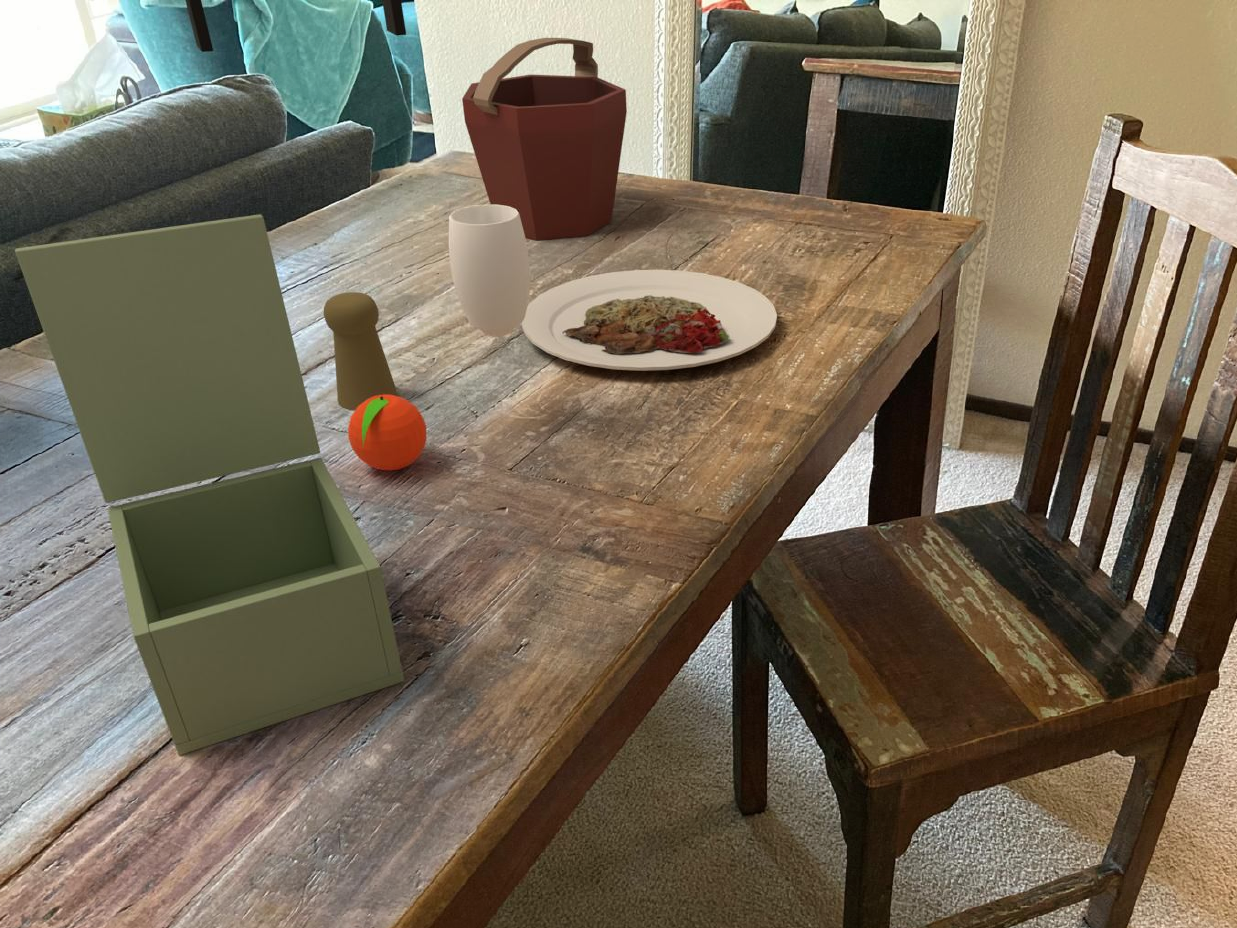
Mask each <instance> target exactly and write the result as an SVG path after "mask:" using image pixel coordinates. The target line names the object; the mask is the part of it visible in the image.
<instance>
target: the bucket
mask: <svg viewBox="0 0 1237 928" xmlns="http://www.w3.org/2000/svg"><path fill="white" fill-rule="evenodd" d="M554 45H572V50H573V53H572V61H574V63H575V64H574V75H557V74H556V75H553V74H525V75H519V76H518V75H517V76H511V77H506V76H508V75H509V74H510V73H511V72H512V71H513V70H514V69H515V68H516V66H518V65H519V64H521V62H522V61H524V59H526V58H527V57H528V56H529V55H530V54H532V53H533V52H535V51H537V50H539V49H543V48H545V47H549V46H554ZM593 54H594V43H593V42H590V41H585V40H581V39H574V38H567V37H541V38H536V39H529V40H527V41H524V42H521V43H518V44H516V45H514V46H513V47H512V48H511V49H509V50H508V51H507V52H506V53H504V54H503V55H502V56H501V57H500V58H499V59H498V60H497V61H496V62H495V63H494V64H493V65H492V66H491V67H490V68H489V69H488V70H486V71H485V72H484V73H483V74H482V76H481V78H480V80H479V82H473V83H472V82H471V84H470V85H469V87H468V88H467V90H466V92H465V93H464V94H463V97H462V98H461V100H462V109H463V118H464V123H465V126H466V130H467V133H468V136H469V140H470V143H471V146H472V149H473V153H474V155H475V159H476V163H477V165H478V169H479V172H480V175H481V178H482V181H483V185H484V188H485V191H486V194H487V198H488V201H489V205H503V206H509V207H512V208H514V209H516V210H517V211H518V213H519V215H520V219H521V223H522V227H523V231H524V234H525V238H526V239H530V240H533V241H545V240H547V241H548V240H557V239H567V238H569V239H570V238H580V237H581V238H582V237H589V236H591V235H592V234H593V233H595V232H597V231H598V230H600V229H601V228H604V227H605V226H607V225H608V224H610V223H611V222H612V221H613V213H614V206H615V198H616V191H617V185H618V178H619V172H620V171H619V170H620V162H621V157H622V156H621V155H622V149H623V142H624V136H625V135H624V134H625V128H626V121H627V113H628V108H627V106H628V105H627V90H626V89H625V88H623V87H621V86H619V85H616V84H614V83H611V82H609V81H607V80H605V79H602V78H600V77H599V64H598V63H597V62H596V59H594V57H593Z"/></svg>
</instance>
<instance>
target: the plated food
mask: <svg viewBox="0 0 1237 928" xmlns="http://www.w3.org/2000/svg"><path fill="white" fill-rule="evenodd" d="M777 320H778V313H777V311H776V308H775V305H774V304H773V303H772V302H771V301H770V300H769V298H768V297H767V296H765V295H764V294H763V293H761V292H760V291H758V290H757V289H755V288H753V287H750V286H748V285H746V284H744V283H741V282H739V281H736V280H733V279H729V278H726V277H723V276H718V275H713V274H708V273H703V272H696V271H687V270H673V269H633V270H623V271H621V270H620V271H612V272H606V273H600V274H595V275H589V276H585V277H581V278H578V279H577V278H576V279H573V280H571V281H567V282H565V283H562V284H559V285H557V286H554V287H552V288H549V289H547V290H546V291H543V292H542V293H541V294H539V295H538V296H536V297H535V298H534V299H533V300H531V301H530V302H528V305H527V310H526V315H525V318H524V320H523V322H522V323H520V325H521V328H522V330H523V334H524V336H525V337H526V338H527V339H528V340H529V341H530V342H531V343H532V344H533V345H534V346H536V347H537V348H538V349H541V350H542V351H543V352H544V353H547V354H549V355H552V356H554V357H557V358H559V359H562V360H563V361H564V360H565V361H568V362H572V363H576V364H579V365H584V366H589V367H595V368H601V369H607V370H609V369H610V370H619V371H621V370H623V371H639V372H640V371H644V372H645V371H646V372H647V371H669V370H670V371H671V370H678V369H686V368H695V367H701V366H705V365H710V364H715V363H719V362H722V361H725V360H729V359H731V358H734V357H738V356H740V355H742V354H744V353H746V352H749V351H751V350H752V349H754V348H757V347H758V346H759V345H760V344H762V343H763V342H765V341H766V340H767V339H769V337H770V336H771V334H772V333H773V331H774V330H775V329H776V326H777Z"/></svg>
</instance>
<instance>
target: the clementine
mask: <svg viewBox="0 0 1237 928" xmlns="http://www.w3.org/2000/svg"><path fill="white" fill-rule="evenodd" d="M353 411H354V412H353V413H352V414H351V416H350V419H349V423H348V427H347V434H348V442H349V443H350V446H351V449H352V450H353V452H354V453H355V455H356V456H357V458H358V459H359V460H360V461H362V462H363V463H365V464H366V465H368V466H369V467H372V468H373V469H377V470H381V471H397V470H401V469H404V468H406V467H408V466H409V465H411V464H413V463H414V462H415V461H416V460H417V459H418V458H419V456H420V455H421V454H422V453H423V450H424V449H425V447H426V443H427V424H426V422H425V419H424V417H423V415H422V413H421V412H420V411H419V409H418V408H417V406H415V405H414V404H413V403H411V402H410V401H409V400H407V399H405V398H403V397H400V396H398V395H397V396H394V395H386V394H384V395H377V396H374V397H371V398H369V399H367V400H366V401H364V402H363V403H362V404H361V405H359V406H358V407H357V408H356V410H353Z"/></svg>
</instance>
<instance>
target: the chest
mask: <svg viewBox="0 0 1237 928" xmlns="http://www.w3.org/2000/svg"><path fill="white" fill-rule="evenodd" d="M107 512H108V518H109V522H110V527H111V533H112V536H113V542H114V548H115V552H116V556H117V561H118V566H119V572H120V577H121V581H122V586H123V591H124V596H125V601H126V602H125V603H126V606H127V611H128V616H129V621H130V626H131V631H132V636H133V639H134V641H135V644H136V647H137V650H138V652H139V654H140V657H141V660H142V662H143V663H142V664H143V665H144V667H145V670H146V673H147V676H148V678H149V681H150V683H151V686H152V689H153V692H154V694H155V697H156V700H157V702H158V705H159V707H160V710H161V712H162V715H163V718H164V720H165V723H166V725H167V728H168V731H169V734H170V737H171V739H172V742H173V744H174V748H175V749H176V753H177V755H178V756H183V755H185V754H188V753H191V752H194V751H198V750H201V749H203V748H206V747H209V746H213V745H215V744H218V743H222V742H224V741H227V740H230V739H231V740H232V739H233V738H236V737H239V736H242V735H246V734H248V733H252V732H254V731H258V730H261V729H265V728H266V727H270V726H273V725H276V724H279V723H282V722H286V721H288V720H291V719H294V718H297V717H300V716H303V715H307V714H311V713H312V712H315V711H318V710H322V709H324V708H327V707H332V706H334V705H337V704H340V703H343V702H346V701H348V700H352V699H355V698H358V697H361V696H364V695H367V694H371V693H374V692H376V691H381V690H382V689H385V688H388V687H392V686H395V685H397V684H401V683H404V682H405V677H404V672H403V667H402V662H401V658H400V657H401V656H400V653H399V648H398V643H397V638H396V634H395V629H394V625H393V620H392V615H391V611H390V610H391V609H390V606H389V601H388V596H387V591H386V587H385V586H386V585H385V581H384V576H383V572H382V567H381V565H380V563H379V561H378V559H377V557H376V556H375V553H374V552H373V550H372V548H371V547H370V544H369V543H368V541H367V539H366V537H365V535H364V534H363V531H362V530H361V528H360V526H359V524H358V523H357V521H356V518H355V517H354V515H353V514H352V511H351V510H350V507H349V506H348V504H347V502H346V501H345V499H344V497H343V496H342V493H341V491H340V490H339V487H338V486H337V485H336V482H335V480H334V479H333V477H332V475H331V473H330V472H329V470H328V467H327V466H326V464H325V461H323V458H322V457H317V458H312V459H308V460H304V461H300V462H299V461H298V462H296V463H292V464H286V465H283V466H279V467H275V468H269V469H266V470H261V471H258V472H253V473H248V474H244V475H240V476H236V477H232V478H227V479H223V480H219V481H214V482H210V483H205V484H202V485H197V486H193V487H189V488H184V489H181V490H177V491H172V492H171V491H170V492H167V493H163V494H160V495H159V494H158V495H154V496H151V497H146V498H142V499H138V500H134V501H129V502H125V503H121V504H117V505H113V506H109V507H107Z"/></svg>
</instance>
